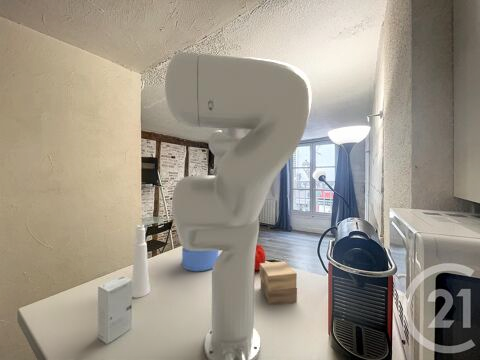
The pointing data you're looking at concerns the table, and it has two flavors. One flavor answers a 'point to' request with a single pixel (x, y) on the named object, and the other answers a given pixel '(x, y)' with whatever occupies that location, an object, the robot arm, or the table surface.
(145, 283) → the cosmetic bottle
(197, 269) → the water jug
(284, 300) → the tower base block
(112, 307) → the skincare box
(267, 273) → the tower top block
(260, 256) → the tomato
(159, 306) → the table surface
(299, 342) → the table surface
